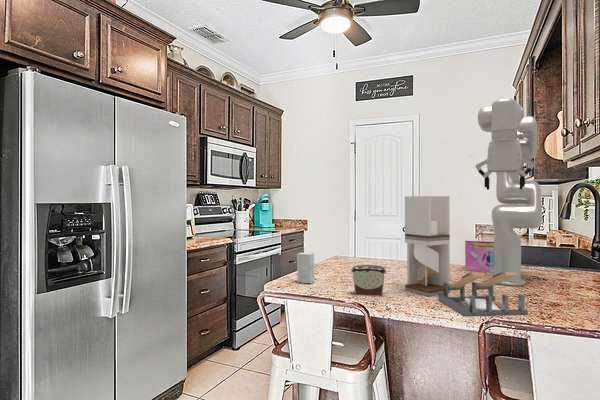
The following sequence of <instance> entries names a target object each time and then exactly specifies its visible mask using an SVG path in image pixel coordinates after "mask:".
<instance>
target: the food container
mask: <svg viewBox="0 0 600 400" xmlns="http://www.w3.org/2000/svg"><path fill="white" fill-rule="evenodd" d="M350 273H352V276H353V277H352V278H353V285H354V295H355V296H364V297H365V296H366V297H368V296H369V297H383V294H384V293H383V292H384V285H385V284H384V282H385V274H387V271H386V267H384V266H382V265H376V264H375V265H374V264H358V265H357V264H356V265H353V266H352V268H351V271H350Z"/></svg>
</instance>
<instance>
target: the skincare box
mask: <svg viewBox="0 0 600 400" xmlns="http://www.w3.org/2000/svg"><path fill="white" fill-rule="evenodd" d="M296 265H297V266H296V268H297V271H296V272H297V275H296V276H297V283H298V282H301V283H300V284H304V283H310V284H309V285H312V284H314V283H315V282H316V281H315V253H312V252H298V253H296ZM313 282H314V283H313ZM311 283H312V284H311Z"/></svg>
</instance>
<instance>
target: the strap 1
mask: <svg viewBox="0 0 600 400" xmlns="http://www.w3.org/2000/svg"><path fill="white" fill-rule="evenodd" d="M484 273H485V272H473V273H472V272H471V273H470V272H469V273H466V274H464V275H463V276H461V278H460V279H458V281H455V282H453V283H450V284H448V290H450V291H460V290H462V286H464V285H465V286H466V285H468V284H470V283H472V282H475V281H477V280H479V279H480V278H483V277H484V276H485V274H484Z"/></svg>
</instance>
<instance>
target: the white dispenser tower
mask: <svg viewBox="0 0 600 400" xmlns="http://www.w3.org/2000/svg"><path fill="white" fill-rule="evenodd" d="M450 210H451V209H450V196H449V195H442V196H441V195H440V196H437V195H436V196H433V195H432V196H431V195H422V196H421V195H417V196H416V195H413V196H412V195H411V196H408V195H407V196H406V195H405V196H404V243H405V244H406V247H407V248H406V251H407V252H406V253H407V254H406V255H407V256H406V258H407V261H406V263H407V265H406V267H407V268H406V269H407V270H406V272H407V273H406V275H407V277H406V278H407V279H406V280H407V282H406V284H405V285H404V290H405V291H407V292H411V293H414V294H418V295H420V296H421V295H422V296H426V297H428V298H431V297H435V296H438V293H443V283H447V284H451V283H450V282H451V281H450V280H451V279H450V278H451V277H450V275H451V273H450V272H451V270H450V269H451V267H450V266H451V265H450V264H451V261H450V260H451V259H450V257H451V256H450V255H451V252H450V251H451V249H450V245H451V244H450V243H451V240H450V232H451V231H450V228H451V227H450V221H451V220H450V218H451V217H450ZM450 293H451V290H448V294H450Z"/></svg>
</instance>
